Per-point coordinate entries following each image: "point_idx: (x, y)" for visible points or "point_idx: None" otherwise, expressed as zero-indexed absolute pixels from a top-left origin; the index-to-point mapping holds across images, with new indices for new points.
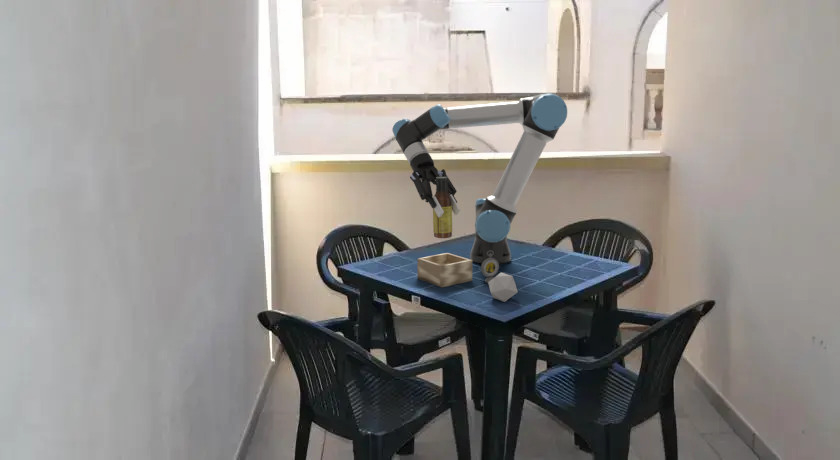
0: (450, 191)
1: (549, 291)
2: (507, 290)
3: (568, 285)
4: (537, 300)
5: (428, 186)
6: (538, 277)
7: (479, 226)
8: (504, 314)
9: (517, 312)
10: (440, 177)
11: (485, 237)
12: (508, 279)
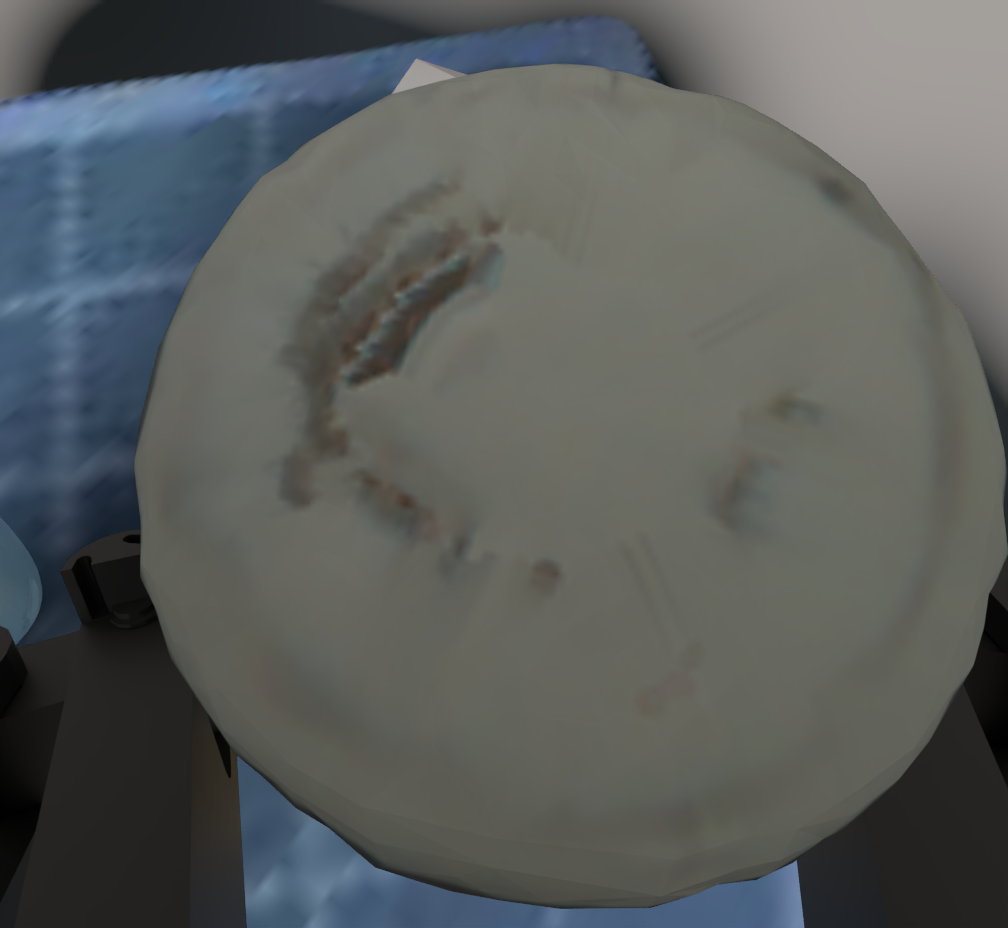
0: (144, 642)
1: (180, 156)
2: None
3: (22, 169)
4: (333, 101)
5: (988, 850)
6: (6, 348)
7: (1, 564)
8: (579, 58)
9: (518, 48)
10: (716, 375)
11: (27, 551)
12: (446, 69)
